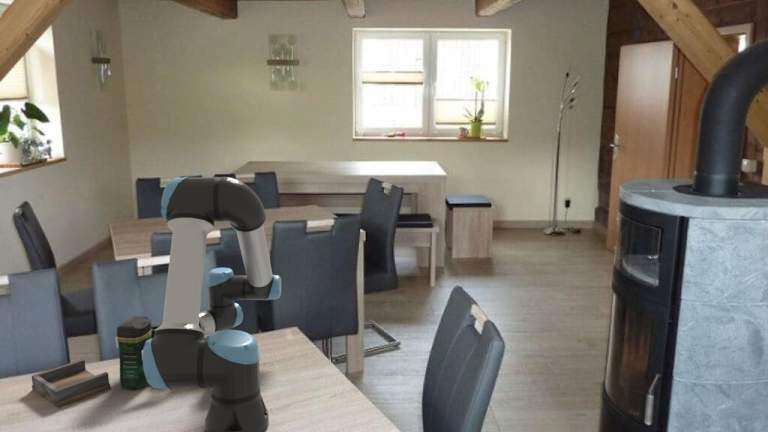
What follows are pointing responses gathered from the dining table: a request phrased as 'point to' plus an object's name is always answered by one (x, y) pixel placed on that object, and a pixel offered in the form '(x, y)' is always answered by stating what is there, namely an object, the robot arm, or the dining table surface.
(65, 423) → the dining table surface
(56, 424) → the dining table surface
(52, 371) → the rail dock
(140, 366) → the coffee jar
